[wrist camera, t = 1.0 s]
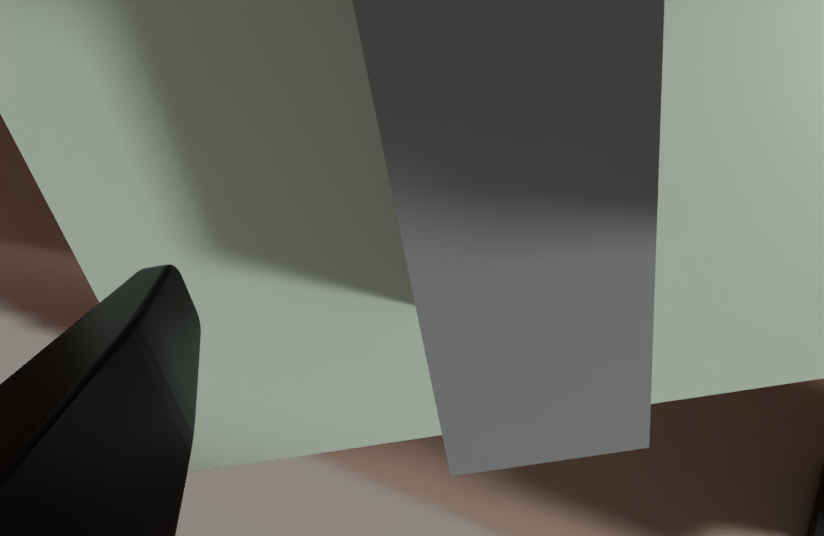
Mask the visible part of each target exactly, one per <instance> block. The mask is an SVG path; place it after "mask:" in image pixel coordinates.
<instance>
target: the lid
mask: <svg viewBox="0 0 824 536" xmlns="http://www.w3.org/2000/svg"><path fill="white" fill-rule="evenodd" d="M0 114H1V116H2V118H3V120H4V122H5V124H6V125H7V127H8V129H9V131H10V133H11V135H12V137H13V139H14V141H15V143H16V145H17V146H18V148H19V150H20V152H21V154H22V156H23V158H24V160H25V162H26V164H27V166H28V167H29V169H30V171H31V173H32V175H33V177H34V179H35V181H36V183H37V185H38V187H39V188H40V190H41V192H42V194H43V196H44V198H45V200H46V202H47V204H48V206H49V208H50V209H51V211H52V213H53V215H54V217H55V219H56V221H57V223H58V225H59V227H60V229H61V230H62V232H63V234H64V236H65V238H66V240H67V242H68V244H69V246H70V248H71V250H72V251H73V253H74V255H75V257H76V259H77V261H78V263H79V265H80V267H81V269H82V271H83V272H84V274H85V276H86V278H87V280H88V282H89V284H90V286H91V288H92V290H93V291H94V293H95V295H96V297H97V299H98V301H99V303H100V302H101V301H102V300H104V299H105V298H106V297H107V296H108V295H110V294H111V293H112V292H113V291H115V290H116V289H117V288H118V287H119V286H121V285H122V284H123V283H124V282H126V281H127V280H128V279H129V278H130V277H132V276H133V275H134V274H135V273H136V272H138V271H139V270H141V269H143V268H148V267H154V266H160V265H167V264H171V265H173V266H175V267H176V268H177V269H178V270H179V272H180V273H181V275H182V277H183V280H184V282H185V285H186V287H187V289H188V292H189V294H190V296H191V299H192V301H193V303H194V306H195V308H196V310H197V313H198V316H199V320H200V325H201V340H200V356H199V371H198V387H197V402H196V418H195V429H194V438H193V444H192V450H191V456H190V461H189V466H188V472H196V471H202V470H210V469H216V468H223V467H230V466H237V465H243V464H249V463H257V462H264V461H270V460H277V459H284V458H291V457H297V456H304V455H311V454H318V453H324V452H331V451H338V450H344V449H351V448H358V447H365V446H371V445H378V444H385V443H392V442H398V441H405V440H412V439H419V438H425V437H432V436H439V435H442V437H443V442H444V447H445V451H446V456H447V461H448V466H449V471H450V476H458V475H464V474H471V473H478V472H485V471H492V470H499V469H506V468H513V467H520V466H526V465H533V464H540V463H547V462H554V461H561V460H568V459H575V458H582V457H588V456H595V455H602V454H609V453H616V452H623V451H630V450H637V449H644V448H649V442H650V413H651V404H655V403H661V402H668V401H675V400H682V399H688V398H695V397H702V396H709V395H715V394H722V393H729V392H736V391H742V390H749V389H756V388H763V387H769V386H776V385H783V384H789V383H796V382H803V381H810V380H816V379H823V378H824V0H0Z"/></svg>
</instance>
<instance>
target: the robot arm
mask: <svg viewBox="0 0 824 536" xmlns="http://www.w3.org/2000/svg"><path fill="white" fill-rule="evenodd" d="M200 340H201V325H200V320H199V316H198V313H197V310H196V308H195V306H194V303H193V301H192V299H191V296H190V294H189V292H188V289H187V287H186V285H185V282H184V280H183V277H182V275H181V273H180V272H179V270H178V269H177V268H176V267H175V266H173V265H171V264H167V265H160V266H154V267H148V268H143V269H141V270H139V271H138V272H136V273H135V274H134V275H133V276H132V277H130V278H129V279H128V280H127V281H126V282H124V283H123V284H122V285H121V286H119V287H118V288H117V289H116V290H115V291H113V292H112V293H111V294H110V295H108V296H107V297H106V298H105V299H104V300H102V301H101V302H100V303H99V304H98V305H96V306H95V307H94V308H93V309H91V310H90V311H89V312H88V313H87V314H85V315H84V316H83V317H82V318H81V319H79V320H78V321H77V322H76V323H74V324H73V325H72V326H71V327H70V328H68V329H67V330H66V331H65V332H63V333H62V334H61V335H60V336H59V337H57V338H56V339H55V340H54V341H53V342H51V343H50V344H49V345H48V346H46V347H45V348H44V349H43V350H42V351H40V352H39V353H38V354H37V355H36V356H34V357H33V358H32V359H31V360H29V361H28V362H27V363H26V364H25V365H23V366H22V367H21V368H20V369H19V370H17V371H16V372H15V373H14V374H13V375H11V376H10V377H9V378H8V379H7V380H5V381H4V382H3V383H1V384H0V536H175V534H176V529H177V524H178V518H179V513H180V508H181V503H182V498H183V491H184V487H185V482H186V476H187V471H188V466H189V461H190V456H191V450H192V444H193V438H194V429H195V418H196V402H197V387H198V371H199V356H200ZM808 536H824V471H823V475H822V479H821V483H820V487H819V491H818V495H817V499H816V504H815V508H814V512H813V516H812V520H811V524H810V528H809V532H808Z"/></svg>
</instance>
